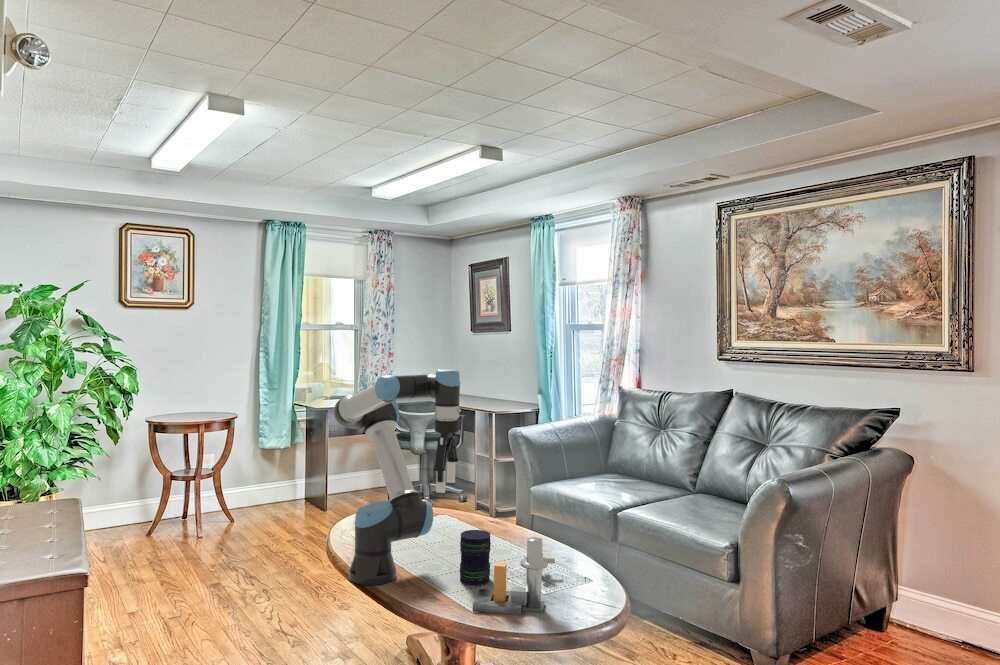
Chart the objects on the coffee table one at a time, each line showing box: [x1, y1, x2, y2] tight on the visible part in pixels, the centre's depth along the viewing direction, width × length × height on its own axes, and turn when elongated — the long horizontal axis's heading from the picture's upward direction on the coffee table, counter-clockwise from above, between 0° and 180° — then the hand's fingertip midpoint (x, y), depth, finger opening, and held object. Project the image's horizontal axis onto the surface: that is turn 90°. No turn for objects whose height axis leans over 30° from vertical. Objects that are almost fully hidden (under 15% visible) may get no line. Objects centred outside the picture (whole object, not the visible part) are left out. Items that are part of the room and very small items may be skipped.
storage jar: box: [459, 529, 492, 587], centre depth 225 cm, size 10×10×15 cm
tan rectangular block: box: [493, 561, 508, 602], centre depth 206 cm, size 3×3×12 cm
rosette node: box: [472, 536, 549, 616], centre depth 205 cm, size 21×12×20 cm, turn 81°
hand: (445, 487), depth 218 cm, fingers open, 13 cm apart
